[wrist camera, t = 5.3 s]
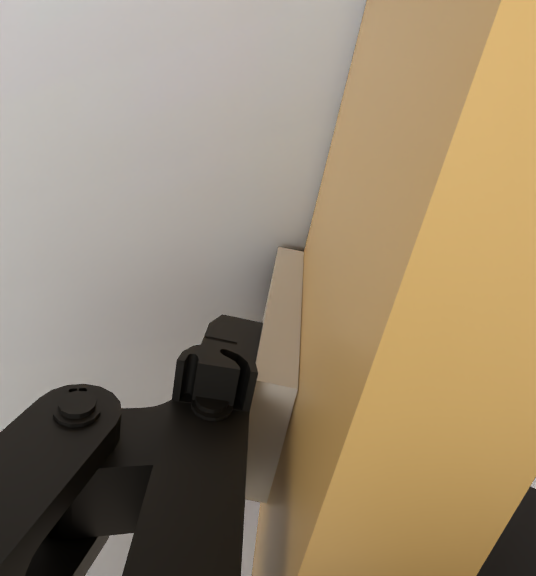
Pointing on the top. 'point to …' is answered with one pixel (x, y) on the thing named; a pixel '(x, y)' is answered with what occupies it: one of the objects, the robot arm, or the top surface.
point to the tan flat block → (416, 304)
